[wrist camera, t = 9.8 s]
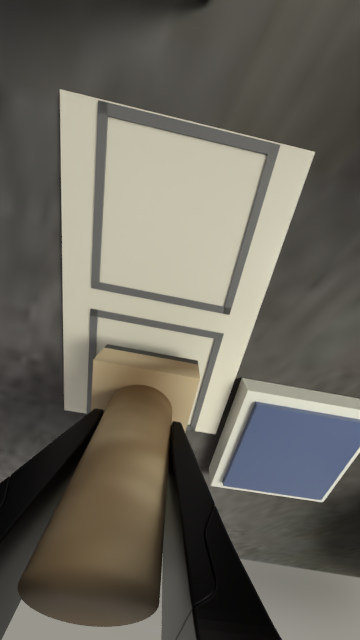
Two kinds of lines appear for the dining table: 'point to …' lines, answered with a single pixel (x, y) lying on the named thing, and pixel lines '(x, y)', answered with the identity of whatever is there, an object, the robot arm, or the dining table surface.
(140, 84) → the dining table surface
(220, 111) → the dining table surface
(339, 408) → the ink pad
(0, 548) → the robot arm
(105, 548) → the stamp
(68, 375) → the print sheet
